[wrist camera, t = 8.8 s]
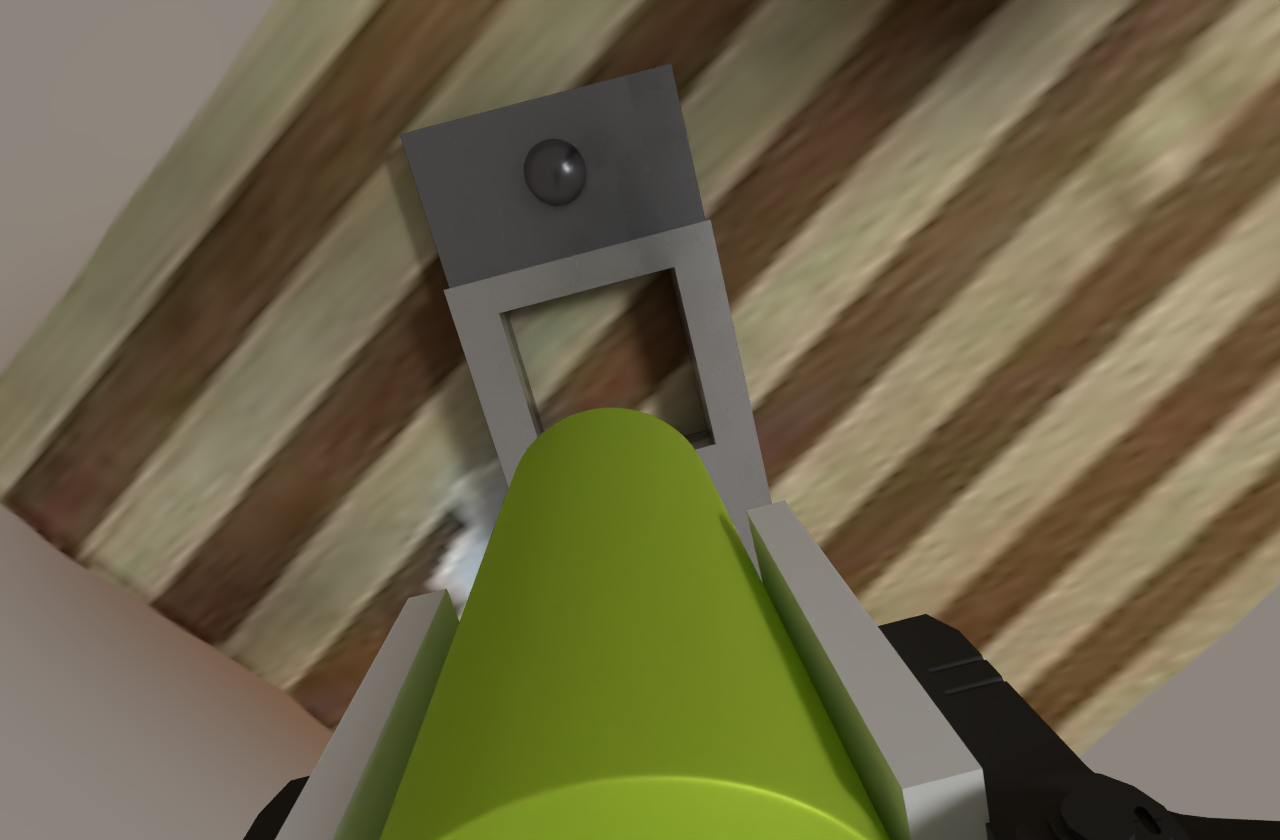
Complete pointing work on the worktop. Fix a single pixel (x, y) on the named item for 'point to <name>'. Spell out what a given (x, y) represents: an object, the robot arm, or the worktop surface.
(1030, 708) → the robot arm
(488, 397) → the upper link
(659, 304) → the worktop surface
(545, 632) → the soap dispenser
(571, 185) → the lower link
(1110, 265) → the worktop surface
